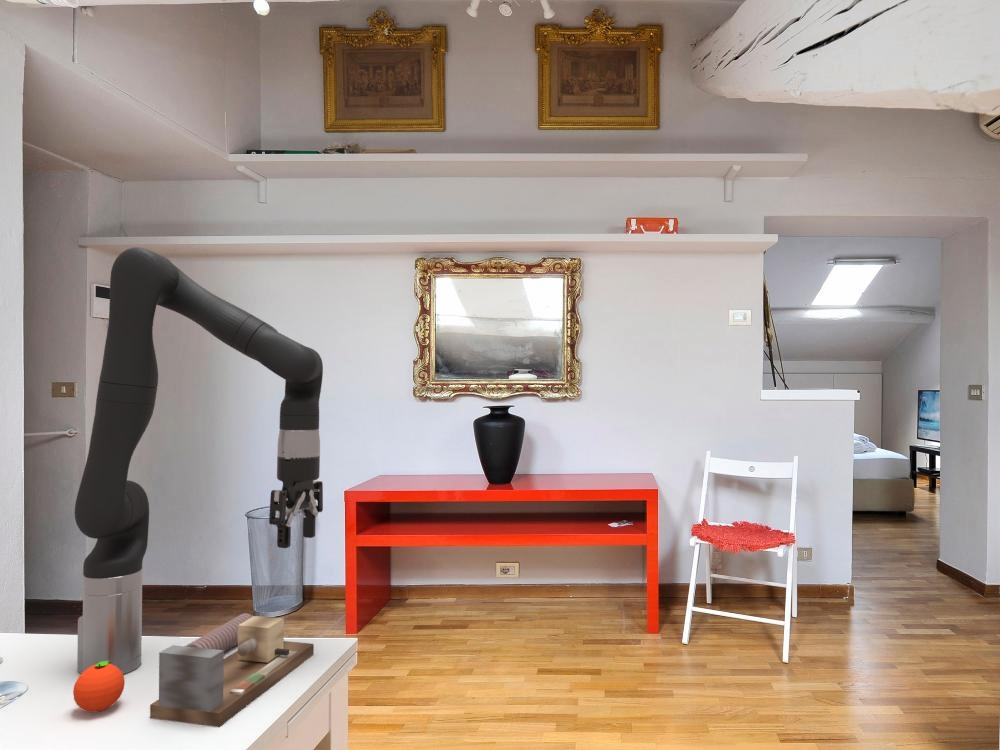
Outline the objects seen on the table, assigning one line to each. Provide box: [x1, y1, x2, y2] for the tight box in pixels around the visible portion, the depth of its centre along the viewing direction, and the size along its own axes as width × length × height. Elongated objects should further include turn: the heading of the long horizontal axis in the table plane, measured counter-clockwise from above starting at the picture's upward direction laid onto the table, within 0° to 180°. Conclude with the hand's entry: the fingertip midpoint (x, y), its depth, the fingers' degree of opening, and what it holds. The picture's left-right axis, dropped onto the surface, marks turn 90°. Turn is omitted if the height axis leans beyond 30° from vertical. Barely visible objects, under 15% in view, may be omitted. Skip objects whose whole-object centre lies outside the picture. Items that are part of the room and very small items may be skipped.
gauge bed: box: [149, 640, 315, 728], centre depth 115 cm, size 12×28×10 cm, turn 167°
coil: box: [186, 612, 254, 653], centre depth 129 cm, size 5×5×18 cm
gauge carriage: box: [236, 615, 289, 663], centre depth 119 cm, size 8×8×6 cm
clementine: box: [72, 661, 125, 713], centre depth 106 cm, size 8×7×7 cm
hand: (296, 542), depth 124 cm, fingers open, 8 cm apart
